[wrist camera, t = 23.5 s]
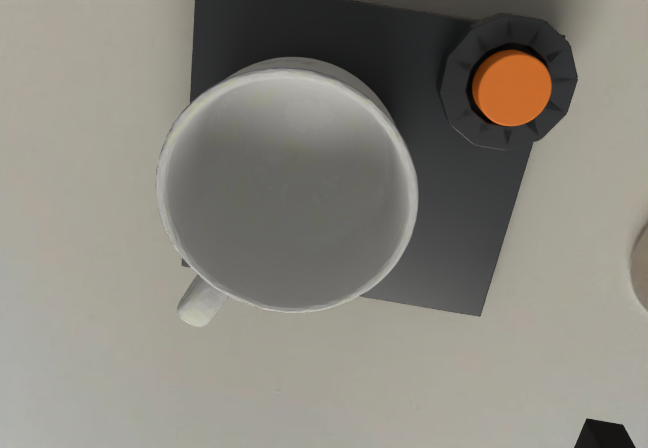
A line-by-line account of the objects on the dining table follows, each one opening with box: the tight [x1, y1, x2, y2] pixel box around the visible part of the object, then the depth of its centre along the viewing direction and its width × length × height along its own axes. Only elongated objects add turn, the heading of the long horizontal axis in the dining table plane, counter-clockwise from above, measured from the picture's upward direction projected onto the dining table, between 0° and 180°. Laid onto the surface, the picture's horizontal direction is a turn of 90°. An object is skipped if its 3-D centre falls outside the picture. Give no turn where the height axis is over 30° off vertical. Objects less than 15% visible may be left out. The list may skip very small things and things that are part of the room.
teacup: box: [156, 57, 419, 327], centre depth 27 cm, size 14×11×8 cm
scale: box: [182, 0, 578, 317], centre depth 30 cm, size 19×16×4 cm
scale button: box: [472, 50, 552, 126], centre depth 26 cm, size 3×3×2 cm
